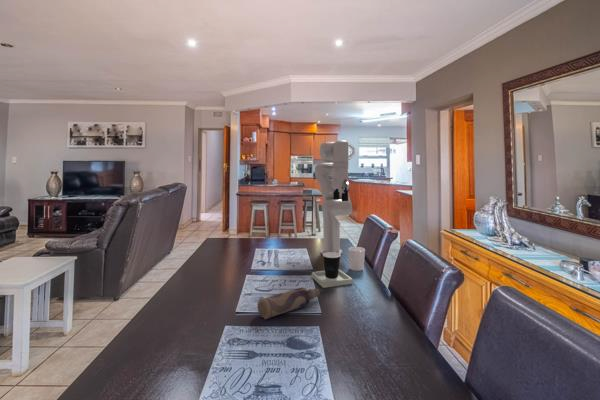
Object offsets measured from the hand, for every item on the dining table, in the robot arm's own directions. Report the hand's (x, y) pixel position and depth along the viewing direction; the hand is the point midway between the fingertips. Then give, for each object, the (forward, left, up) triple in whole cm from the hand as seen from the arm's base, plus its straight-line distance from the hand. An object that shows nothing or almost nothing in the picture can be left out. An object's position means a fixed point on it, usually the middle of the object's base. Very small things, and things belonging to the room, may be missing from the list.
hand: (340, 200), depth 148 cm
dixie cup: (+18, -13, -33) cm, 40 cm away
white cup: (+8, +5, -34) cm, 35 cm away
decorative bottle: (+39, -37, -34) cm, 63 cm away
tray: (+18, -13, -33) cm, 40 cm away
